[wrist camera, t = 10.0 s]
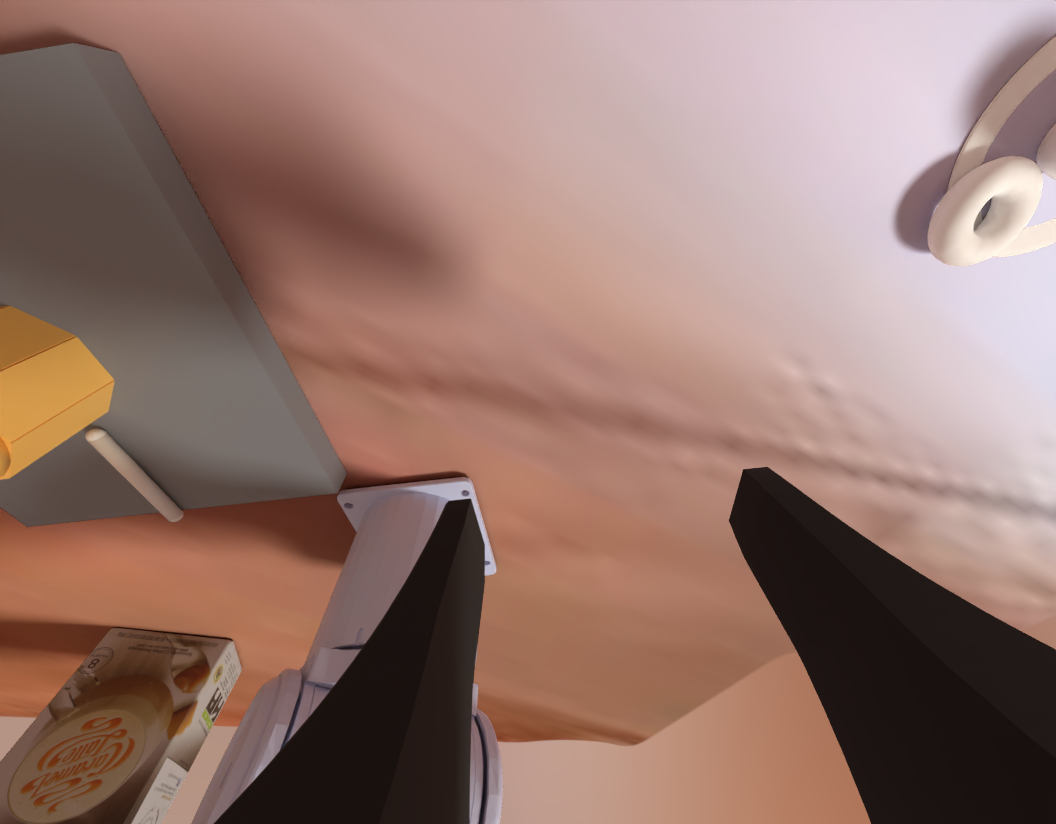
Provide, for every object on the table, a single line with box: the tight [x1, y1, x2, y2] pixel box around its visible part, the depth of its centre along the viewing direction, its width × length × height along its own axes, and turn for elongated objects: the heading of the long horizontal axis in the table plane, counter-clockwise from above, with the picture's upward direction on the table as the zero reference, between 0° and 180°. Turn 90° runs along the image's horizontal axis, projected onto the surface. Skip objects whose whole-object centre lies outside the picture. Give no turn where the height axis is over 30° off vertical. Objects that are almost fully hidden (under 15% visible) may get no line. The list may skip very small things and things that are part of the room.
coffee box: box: [0, 628, 242, 824], centre depth 27 cm, size 9×6×16 cm
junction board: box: [0, 43, 347, 527], centre depth 17 cm, size 18×18×2 cm
